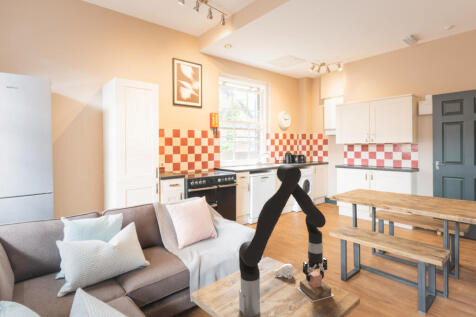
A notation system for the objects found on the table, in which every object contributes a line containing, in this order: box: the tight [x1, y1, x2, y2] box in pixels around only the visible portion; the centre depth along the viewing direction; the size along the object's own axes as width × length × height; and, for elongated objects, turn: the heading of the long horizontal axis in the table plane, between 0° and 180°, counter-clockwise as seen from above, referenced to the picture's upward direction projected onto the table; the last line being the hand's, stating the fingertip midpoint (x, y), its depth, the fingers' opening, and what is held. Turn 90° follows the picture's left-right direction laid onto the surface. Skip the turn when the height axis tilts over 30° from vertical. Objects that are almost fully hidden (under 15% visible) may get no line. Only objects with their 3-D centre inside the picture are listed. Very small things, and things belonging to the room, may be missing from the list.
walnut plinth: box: [299, 279, 332, 300], centre depth 140 cm, size 11×12×4 cm
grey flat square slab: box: [296, 286, 335, 303], centre depth 140 cm, size 14×14×1 cm
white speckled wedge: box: [273, 263, 294, 280], centre depth 157 cm, size 6×8×12 cm
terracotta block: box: [308, 270, 323, 288], centre depth 140 cm, size 5×5×6 cm
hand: (315, 279), depth 140 cm, fingers open, 8 cm apart
